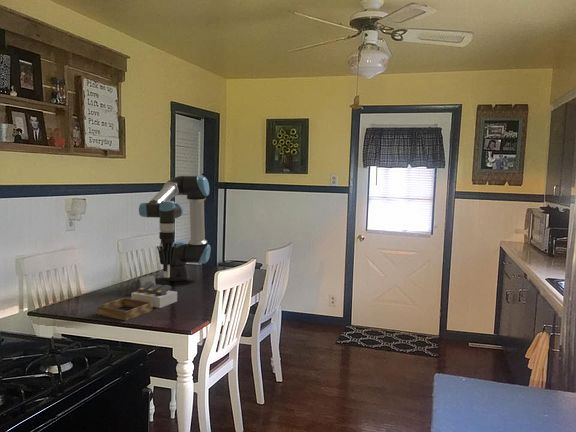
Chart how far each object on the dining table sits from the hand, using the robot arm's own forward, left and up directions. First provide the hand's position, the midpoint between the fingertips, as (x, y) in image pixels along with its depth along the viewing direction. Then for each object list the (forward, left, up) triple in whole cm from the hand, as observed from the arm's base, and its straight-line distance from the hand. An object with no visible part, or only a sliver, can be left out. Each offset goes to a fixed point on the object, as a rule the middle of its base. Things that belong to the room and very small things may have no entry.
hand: (166, 277), depth 247 cm
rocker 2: (+3, -6, -6) cm, 9 cm away
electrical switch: (-10, -22, -14) cm, 27 cm away
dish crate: (+24, -6, -13) cm, 28 cm away
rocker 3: (+3, 0, -6) cm, 7 cm away
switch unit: (+3, -6, -13) cm, 15 cm away
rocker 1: (+3, -11, -6) cm, 13 cm away
